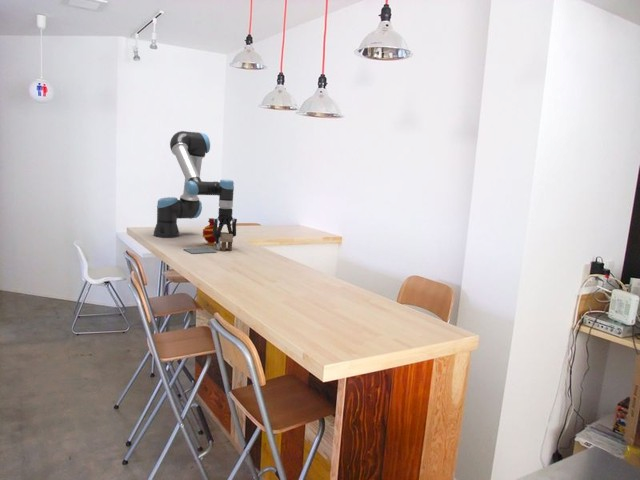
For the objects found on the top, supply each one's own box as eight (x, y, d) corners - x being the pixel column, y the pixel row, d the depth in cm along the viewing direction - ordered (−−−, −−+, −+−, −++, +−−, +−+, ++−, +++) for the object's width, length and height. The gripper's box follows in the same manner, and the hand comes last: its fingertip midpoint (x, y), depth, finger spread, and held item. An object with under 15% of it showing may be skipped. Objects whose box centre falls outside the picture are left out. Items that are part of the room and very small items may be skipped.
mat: (183, 250, 261) (183, 248, 261) (207, 248, 270) (207, 247, 270) (191, 254, 253) (191, 252, 253) (216, 252, 261) (216, 251, 261)
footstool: (215, 248, 274) (215, 232, 272) (224, 247, 277) (225, 232, 276) (222, 251, 267) (223, 235, 265) (232, 250, 270) (233, 234, 269)
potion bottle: (210, 246, 277) (211, 220, 275) (198, 243, 283) (199, 217, 281) (224, 244, 285) (225, 219, 283) (212, 241, 292) (213, 217, 289)
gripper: (212, 208, 259) (210, 251, 263) (244, 208, 271) (242, 249, 275) (206, 206, 265) (205, 248, 269) (237, 207, 277) (235, 246, 281)
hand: (223, 248), depth 272 cm, fingers closed on footstool, 6 cm apart
